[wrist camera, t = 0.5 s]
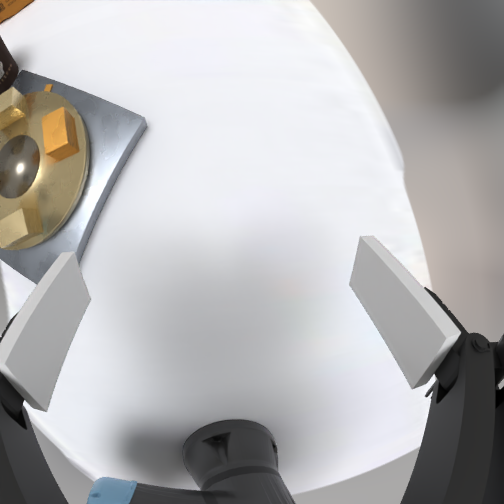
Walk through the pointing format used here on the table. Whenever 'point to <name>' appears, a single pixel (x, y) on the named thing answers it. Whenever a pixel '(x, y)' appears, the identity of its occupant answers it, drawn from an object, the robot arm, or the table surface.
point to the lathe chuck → (39, 166)
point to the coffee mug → (6, 68)
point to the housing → (98, 177)
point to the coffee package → (11, 7)
